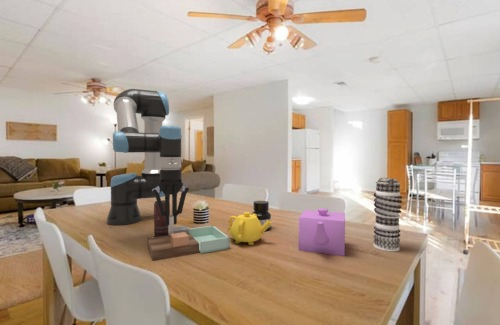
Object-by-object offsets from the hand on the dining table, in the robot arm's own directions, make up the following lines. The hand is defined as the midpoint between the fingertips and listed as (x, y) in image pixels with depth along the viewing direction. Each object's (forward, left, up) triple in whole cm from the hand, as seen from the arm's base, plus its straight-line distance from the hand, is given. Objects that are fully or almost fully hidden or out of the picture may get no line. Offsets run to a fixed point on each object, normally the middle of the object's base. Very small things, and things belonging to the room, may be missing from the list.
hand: (171, 233), depth 96 cm
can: (-14, -1, -5) cm, 15 cm away
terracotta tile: (+8, +1, -2) cm, 8 cm away
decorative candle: (+37, +69, -5) cm, 79 cm away
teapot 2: (+27, +48, -5) cm, 55 cm away
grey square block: (0, +3, -2) cm, 4 cm away
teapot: (+8, +28, -5) cm, 30 cm away
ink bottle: (-4, +40, -5) cm, 41 cm away
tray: (+4, +13, -5) cm, 14 cm away
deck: (+4, 0, -5) cm, 6 cm away
